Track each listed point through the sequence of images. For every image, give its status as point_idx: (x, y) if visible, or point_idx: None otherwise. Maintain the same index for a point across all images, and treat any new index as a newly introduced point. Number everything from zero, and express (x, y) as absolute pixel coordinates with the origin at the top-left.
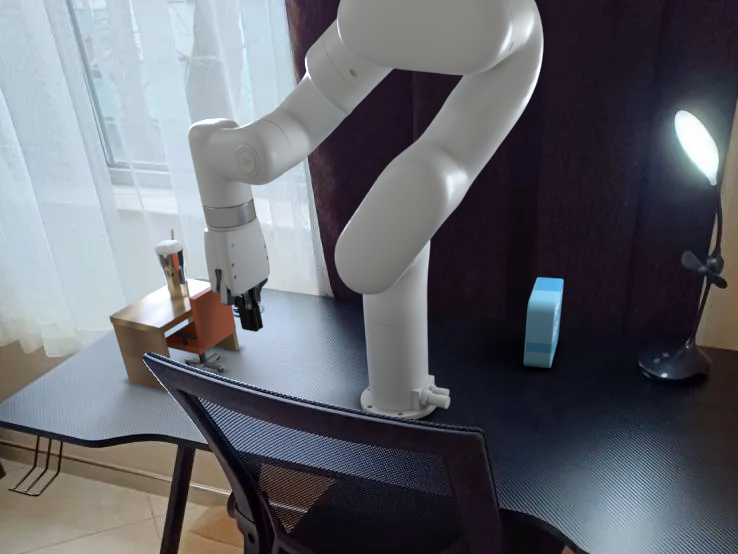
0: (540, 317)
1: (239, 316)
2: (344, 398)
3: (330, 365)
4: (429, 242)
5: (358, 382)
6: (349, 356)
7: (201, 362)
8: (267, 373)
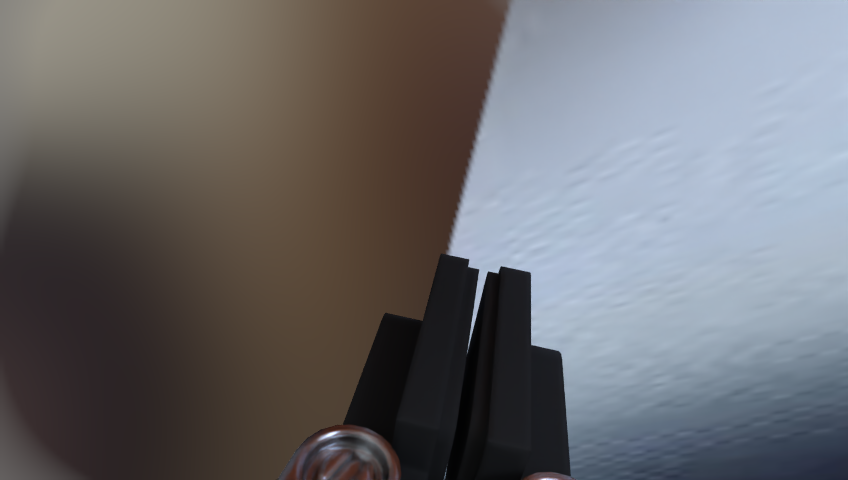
0: None
1: (422, 322)
2: None
3: (706, 360)
4: None
5: (572, 459)
6: (799, 406)
7: None
8: (599, 123)
